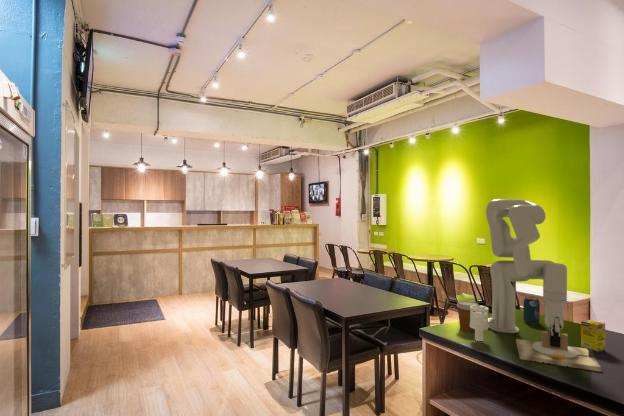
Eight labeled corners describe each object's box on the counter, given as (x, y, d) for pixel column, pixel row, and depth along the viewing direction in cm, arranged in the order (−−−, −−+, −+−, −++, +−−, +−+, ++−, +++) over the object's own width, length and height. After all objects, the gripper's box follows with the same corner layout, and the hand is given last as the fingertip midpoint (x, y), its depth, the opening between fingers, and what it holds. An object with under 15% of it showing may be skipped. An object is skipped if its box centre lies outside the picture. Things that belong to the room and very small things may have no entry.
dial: (535, 355, 137) (535, 336, 137) (530, 342, 151) (531, 325, 151) (582, 362, 131) (582, 343, 131) (572, 348, 145) (573, 330, 145)
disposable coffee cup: (453, 326, 177) (453, 300, 178) (473, 326, 177) (474, 301, 177) (460, 332, 168) (461, 305, 168) (482, 333, 168) (482, 305, 168)
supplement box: (597, 353, 145) (597, 324, 145) (580, 348, 150) (580, 320, 150) (605, 351, 147) (605, 323, 147) (588, 346, 153) (588, 319, 153)
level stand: (520, 359, 137) (520, 346, 137) (516, 342, 155) (516, 331, 155) (601, 371, 127) (601, 358, 127) (586, 352, 145) (586, 340, 145)
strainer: (474, 343, 153) (474, 306, 153) (466, 337, 160) (467, 302, 160) (491, 343, 153) (491, 306, 154) (483, 338, 160) (483, 302, 161)
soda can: (539, 325, 181) (539, 300, 181) (522, 322, 185) (523, 298, 185) (539, 322, 187) (540, 297, 187) (523, 319, 191) (524, 295, 191)
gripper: (540, 291, 151) (540, 337, 150) (546, 299, 136) (545, 350, 136) (562, 293, 147) (562, 340, 147) (571, 301, 133) (570, 354, 132)
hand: (554, 345), depth 141 cm, fingers closed on dial, 2 cm apart
